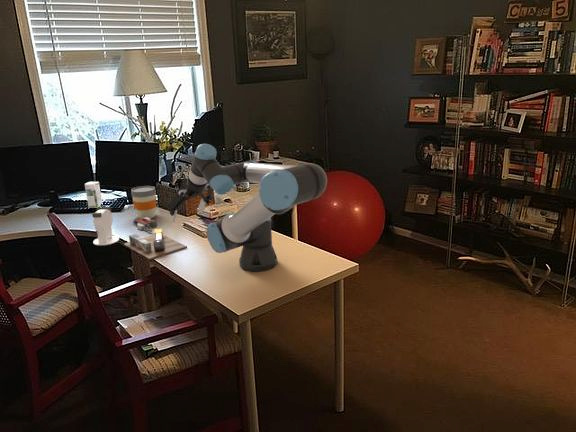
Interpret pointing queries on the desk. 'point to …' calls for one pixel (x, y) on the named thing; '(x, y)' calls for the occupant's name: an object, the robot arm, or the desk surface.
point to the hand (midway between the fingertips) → (186, 215)
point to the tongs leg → (158, 241)
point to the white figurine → (104, 227)
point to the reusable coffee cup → (144, 201)
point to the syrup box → (93, 194)
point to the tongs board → (152, 246)
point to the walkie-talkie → (145, 223)
